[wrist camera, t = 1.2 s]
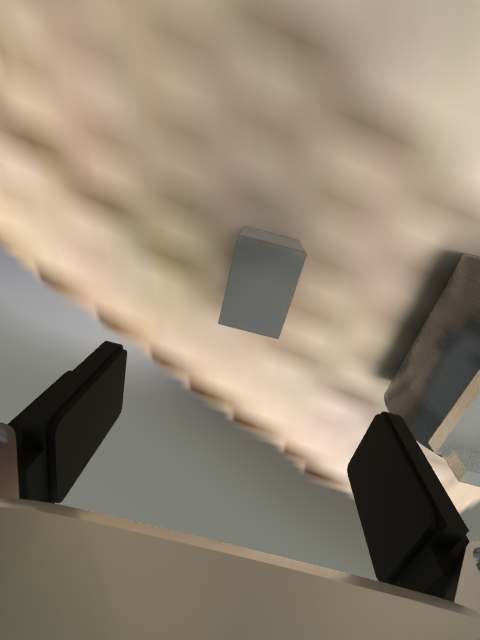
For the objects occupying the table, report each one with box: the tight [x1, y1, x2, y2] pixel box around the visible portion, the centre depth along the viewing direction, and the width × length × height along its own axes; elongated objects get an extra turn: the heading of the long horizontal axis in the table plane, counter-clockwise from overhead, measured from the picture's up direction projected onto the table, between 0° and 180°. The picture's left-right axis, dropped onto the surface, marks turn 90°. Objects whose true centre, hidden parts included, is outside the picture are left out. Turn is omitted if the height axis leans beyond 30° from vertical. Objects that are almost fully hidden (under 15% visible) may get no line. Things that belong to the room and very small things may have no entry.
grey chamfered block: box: [218, 227, 307, 339], centre depth 25 cm, size 7×5×6 cm
